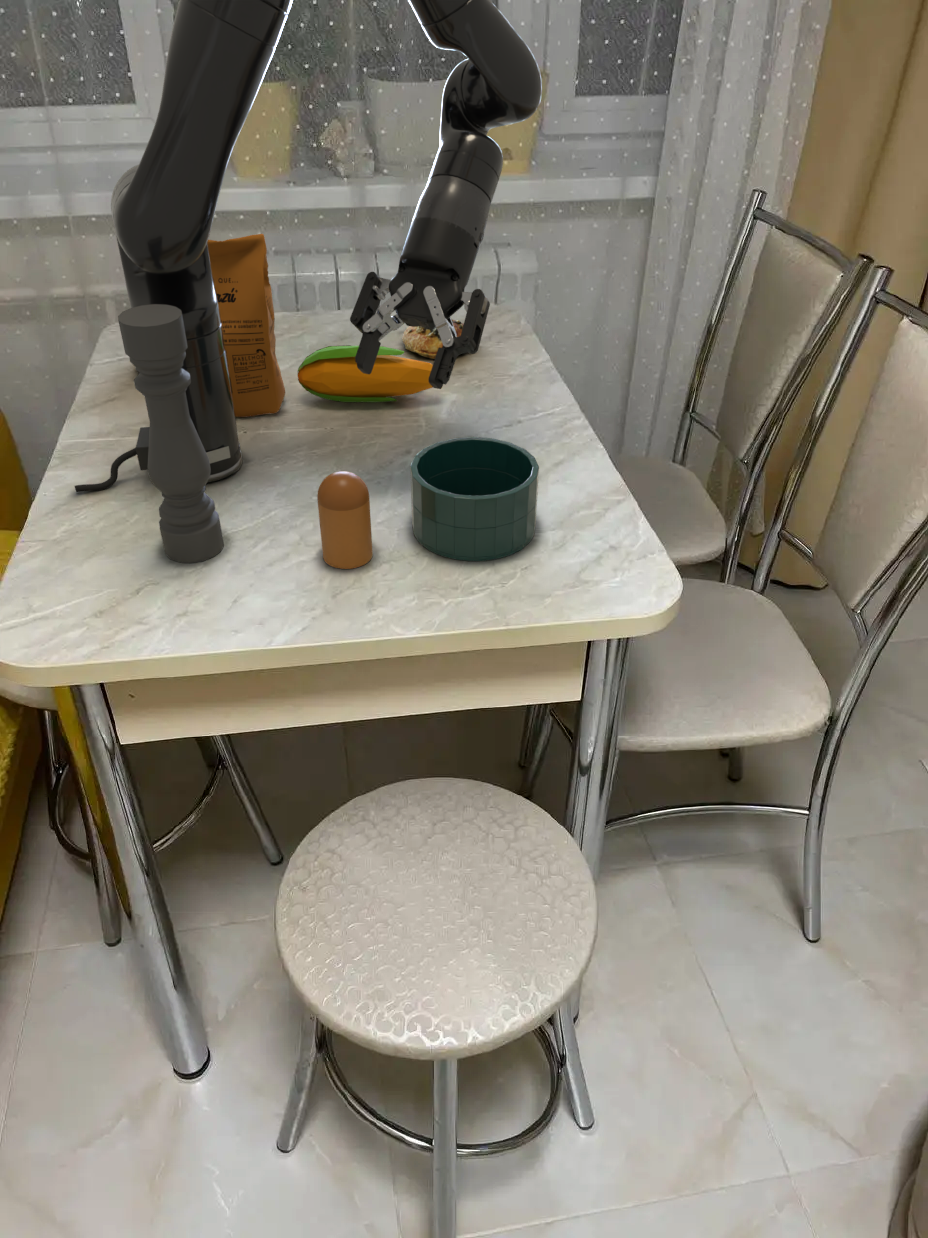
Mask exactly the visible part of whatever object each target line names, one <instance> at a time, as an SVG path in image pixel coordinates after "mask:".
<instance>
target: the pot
mask: <svg viewBox="0 0 928 1238" xmlns="http://www.w3.org/2000/svg"><path fill="white" fill-rule="evenodd" d="M409 469H410V470H409V471H410V473H409V474H410V498H411V499H410V503H411V504H410V507H411V524H412V533H413V534H414V538H415V539H416V540H417V542H418V543H419V544H420V545H421V546H423V548H425V549H426V550H428V551H430V552H432V553H434V554H436V555H438V556H441V557H443V558H446V559H447V558H448V559H451V560H456V561H457V560H458V561H465V562H485V561H493V560H497V559H502V558H506V557H509V556H511V555H514V554H515V553H517V552H520V551H521V550H522V549H524V548H525V547H527V546H528V544H530V542H531V541H532V540H533V538H534V535H535V532H536V525H537V509H538V495H539V494H538V493H539V492H538V490H539V476H540V466H539V462H538V461H537V459H536V457H535V456H534V455H533V454H531V452H529V451H528V450H527V449H525V448H524V447H521V446H519V445H517V444H515V443H513V442H511V441H506V440H501V439H499V438H494V437H480V436H478V437H477V436H466V437H453V438H450V439H446V440H441V441H437V442H434V443H433V444H430V445H428V446H426V447H424V448H422V449H421V450H420V451H419V452H418V453H416V455H414V457H413V458H412V461H411V463H410V466H409Z"/></svg>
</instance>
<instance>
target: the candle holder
mask: <svg viewBox="0 0 928 1238" xmlns="http://www.w3.org/2000/svg"><path fill="white" fill-rule="evenodd" d="M117 320H118V326H119V330H120V335H121V340H122V344H123V349H124V354H125V355H126V356H127V357H129V362H130V363H131V364H132V365H133V366H134V367H135V369H136V371H137V372H139V373H138V374H137V375H136V376H135V378H134V379H133V384H134V387H135V390H136V391H138V392H139V393H140V394H141V395H142V396H144V400H145V406H146V410H147V415H148V419H149V427H150V429H149V451H148V470H147V474H148V478H149V480H150V482H151V483H152V485H154V487H155V488H156V489H157V490H158V491H159V492H160V493H161V497H162V498H163V500H162V502H161V504H160V506H159V507H158V515H159V518H160V519H159V520H158V524H159V525H158V526H159V532H160V536H161V540H162V545H163V550H164V554H165V556H167V557H168V559H170V560H171V561H174V562H177V563H184V564H193V563H200V562H204V561H205V562H206V561H207V560H209V559H212V558H214V557H216V556H217V555H218V554H220V553H221V552H222V550H223V548H224V546H225V543H224V537H223V531H222V525H221V520H220V515H219V514H220V513H219V512H218V511H217V510H216V505H215V501H214V499H213V498H212V497H210V496H209V495H208V494H207V493H206V491H207V487H206V485H207V483H208V482H207V481H208V479H209V477H210V473H211V468H210V462H209V458H208V456H207V454H206V451H205V449H204V447H203V445H202V443H201V440H200V438H199V436H198V433H197V431H196V429H195V427H194V424H193V422H192V420H191V418H190V414H189V409H188V403H187V398H186V392H185V391H186V390H187V387H188V386H189V385H190V383H191V379H190V373H188V372H187V371H185V370H184V369H182V368H181V367H182V366H183V361H184V359H185V357H186V352H185V350H186V349H187V348H188V346H187V340H186V335H185V329H184V323H183V317H182V312H181V310H180V309H179V308H177V307H175V306H170V305H163V304H151V305H142V306H137V307H133V308H130V307H129V308H127V309H126V310H123V311H122V312H121V313H119V314H118V315H117Z"/></svg>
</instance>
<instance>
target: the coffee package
mask: <svg viewBox="0 0 928 1238" xmlns="http://www.w3.org/2000/svg"><path fill="white" fill-rule="evenodd" d="M207 244H208V251H209V258H210V264H211V270H212V275H213V280H214V285H215V289H216V294H217V298H218V303H219V310H220V317H221V324H222V330H223V337H224V344H225V351H226V357H227V364H228V371H229V378H230V384H231V391H232V398H233V405H234V411H235V418H249V417H256V416H262V415H271V414H277V413H278V412H280V410H281V408H282V404H283V401H284V399H285V397H286V388H285V384H284V380H283V376H282V371H281V369H280V366H279V363H278V359H277V354H276V347H277V345H276V343H277V340H276V334H275V322H276V321H275V320H276V318H275V308H274V301H273V293H272V286H271V283H270V278H269V262H268V257H267V253H268V248H267V243H266V238H265V234H264V233H257V234H250V235H245V236H241V237H235V238H229V239H225V240H213V239H208V242H207Z"/></svg>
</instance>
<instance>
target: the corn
mask: <svg viewBox="0 0 928 1238" xmlns="http://www.w3.org/2000/svg"><path fill="white" fill-rule="evenodd" d="M358 347H359V345H349V344H348V345H347V344H346V345H345V344H344V345H329V346H328V345H327V346H325V347H322V348H319V349H316V350H315V351H313V352H312V353H310V354H309V355H307V356H306V357H305V359H303V361H302V363H301V364H300V365H299V367H298V368H297V371H296V372H297V381H298V383H299V385H301V388H303V389H304V390H305V391H306V392H309V393H310V394H311V395H314V396H316V397H318V398H320V399H324V400H327V401H334V402H339V403H386V402H387V403H389V402H397V401H398V399H396V398H394V397H402V396H408V395H414V394H417V393H420V392H423V391H426V390H430V389H432V388H433V387H432V385H431V384H430V383H429V375H430V372H431V369H432V366H433V363H430V362H427V361H423V360H416V359H411V358H407V357H400V356H403V354H404V353H405V351H404V350H400V349H396V348H394V347H393V348H392V347H387V346H382V345H380V348H379V351H378V354H377V357H376V360H375V363H374V366H373V369H372V372H371V374H365V373H362V372H361V371H360V370H359V369H358V368H357V363H356V362H355V356H356V353H357V350H358ZM433 389H434V388H433Z"/></svg>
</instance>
